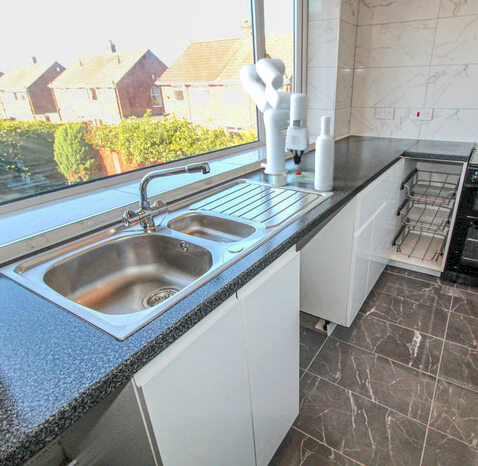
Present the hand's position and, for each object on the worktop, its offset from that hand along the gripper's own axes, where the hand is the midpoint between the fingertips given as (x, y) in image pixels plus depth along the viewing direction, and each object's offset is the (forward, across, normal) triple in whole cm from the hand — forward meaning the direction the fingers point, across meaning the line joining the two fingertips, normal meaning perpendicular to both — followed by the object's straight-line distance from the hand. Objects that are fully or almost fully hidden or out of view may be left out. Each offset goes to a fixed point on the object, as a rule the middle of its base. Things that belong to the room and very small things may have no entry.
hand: (297, 163), depth 155 cm
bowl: (+8, -4, -11) cm, 14 cm away
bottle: (+7, +17, -10) cm, 20 cm away
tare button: (+5, +1, -1) cm, 5 cm away
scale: (+8, +7, +3) cm, 11 cm away
